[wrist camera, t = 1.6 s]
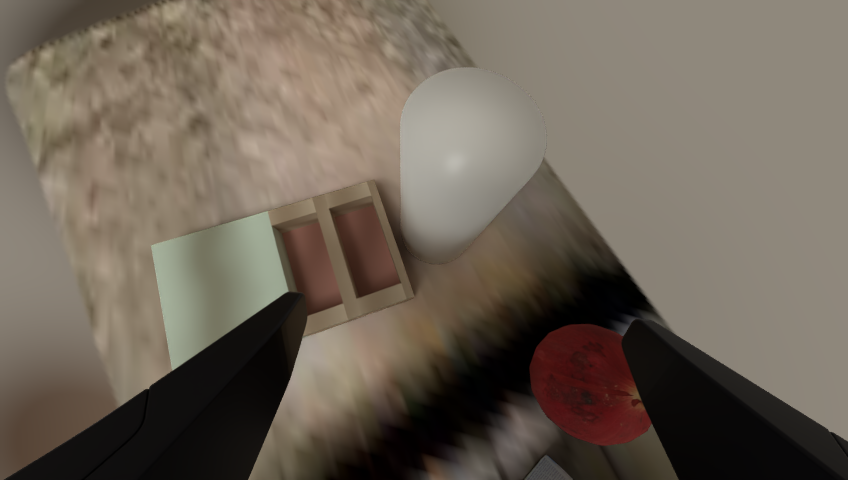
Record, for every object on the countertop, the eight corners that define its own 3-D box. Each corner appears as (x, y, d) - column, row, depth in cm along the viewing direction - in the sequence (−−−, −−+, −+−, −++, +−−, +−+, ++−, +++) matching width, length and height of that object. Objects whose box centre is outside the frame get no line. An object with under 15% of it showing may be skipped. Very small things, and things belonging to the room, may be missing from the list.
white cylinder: (452, 276, 21) (512, 225, 10) (387, 243, 22) (372, 154, 10) (482, 215, 23) (567, 105, 11) (421, 184, 23) (441, 46, 11)
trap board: (376, 191, 23) (373, 179, 21) (413, 298, 21) (414, 296, 19) (174, 252, 21) (151, 245, 19) (197, 375, 19) (174, 382, 17)
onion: (516, 421, 19) (593, 488, 12) (507, 325, 21) (569, 328, 13) (606, 415, 20) (736, 475, 12) (590, 321, 21) (698, 322, 14)
